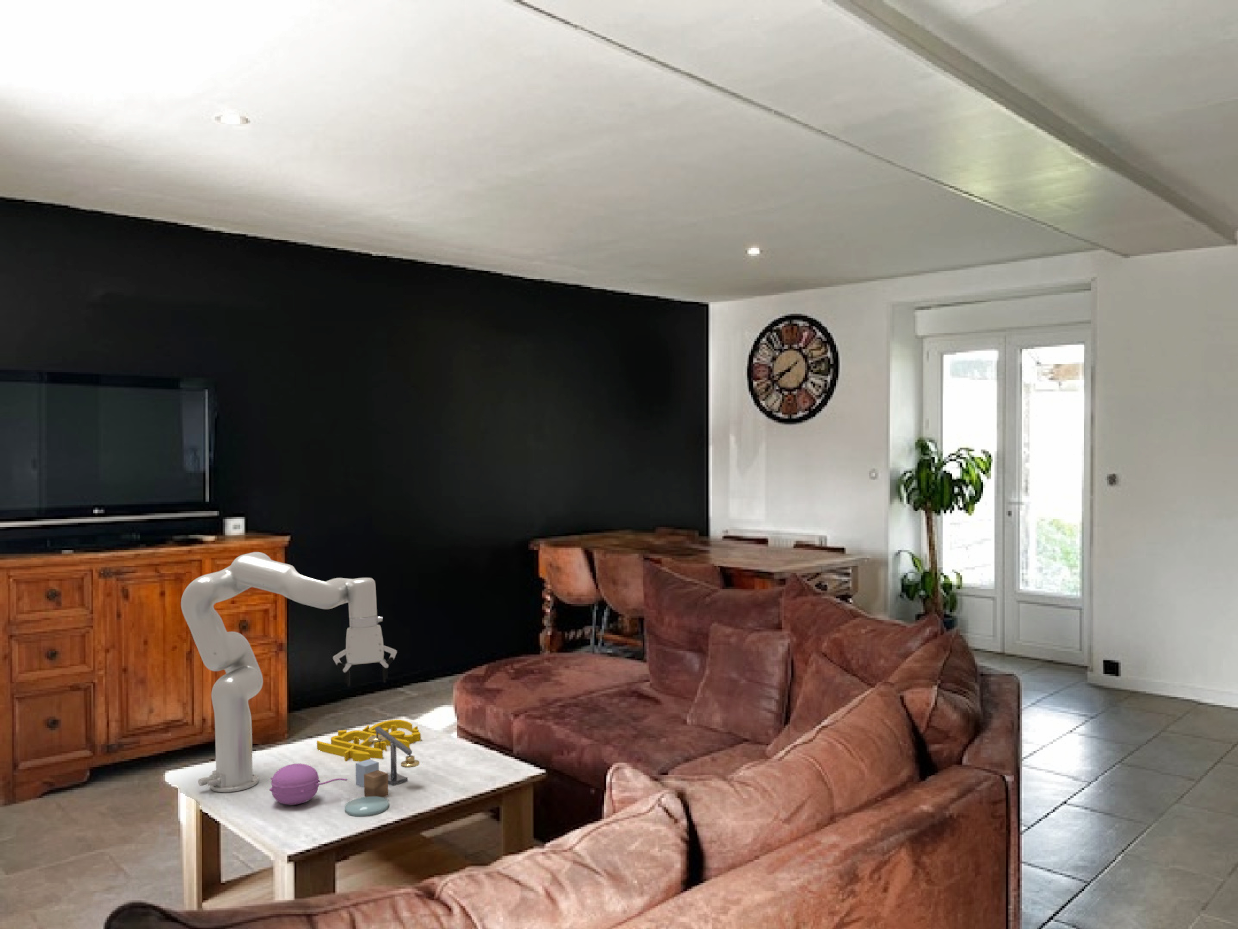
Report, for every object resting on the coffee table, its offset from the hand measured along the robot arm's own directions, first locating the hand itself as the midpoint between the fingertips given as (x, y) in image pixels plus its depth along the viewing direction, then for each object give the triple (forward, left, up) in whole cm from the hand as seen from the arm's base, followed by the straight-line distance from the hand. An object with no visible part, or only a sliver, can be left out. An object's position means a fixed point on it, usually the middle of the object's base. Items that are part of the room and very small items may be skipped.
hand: (366, 683), depth 261 cm
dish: (-11, -16, -28) cm, 34 cm away
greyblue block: (0, 0, -28) cm, 28 cm away
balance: (+6, -4, -28) cm, 29 cm away
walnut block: (-4, -10, -28) cm, 30 cm away
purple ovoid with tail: (-19, 0, -29) cm, 34 cm away
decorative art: (+24, +31, -29) cm, 49 cm away
